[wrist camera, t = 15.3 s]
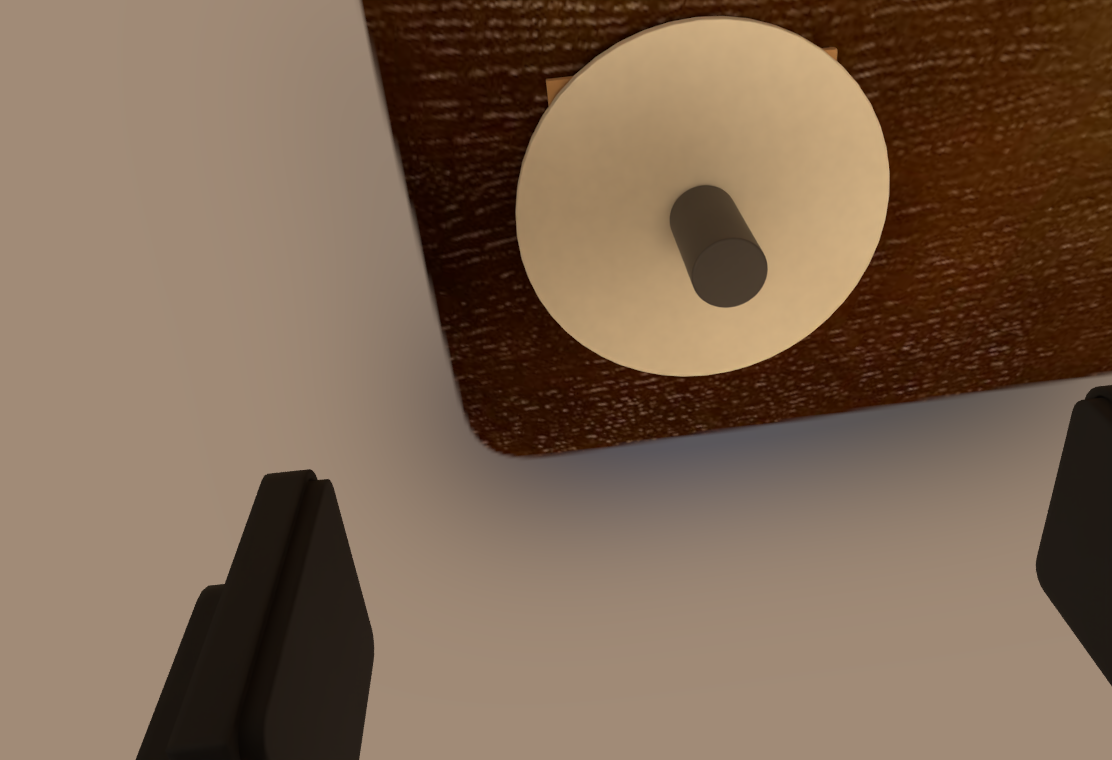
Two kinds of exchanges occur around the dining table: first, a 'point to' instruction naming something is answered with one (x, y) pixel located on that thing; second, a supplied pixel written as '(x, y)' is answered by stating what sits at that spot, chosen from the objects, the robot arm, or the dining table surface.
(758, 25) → the lid
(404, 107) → the dining table surface
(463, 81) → the dining table surface
